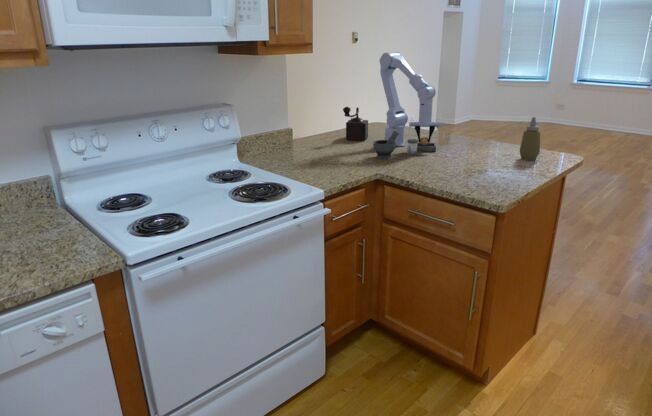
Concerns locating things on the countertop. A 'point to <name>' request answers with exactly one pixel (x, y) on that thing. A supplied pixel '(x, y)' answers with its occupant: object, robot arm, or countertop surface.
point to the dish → (426, 147)
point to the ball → (424, 140)
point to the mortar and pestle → (385, 146)
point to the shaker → (412, 147)
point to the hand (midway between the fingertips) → (424, 142)
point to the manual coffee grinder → (355, 126)
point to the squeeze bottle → (530, 142)
